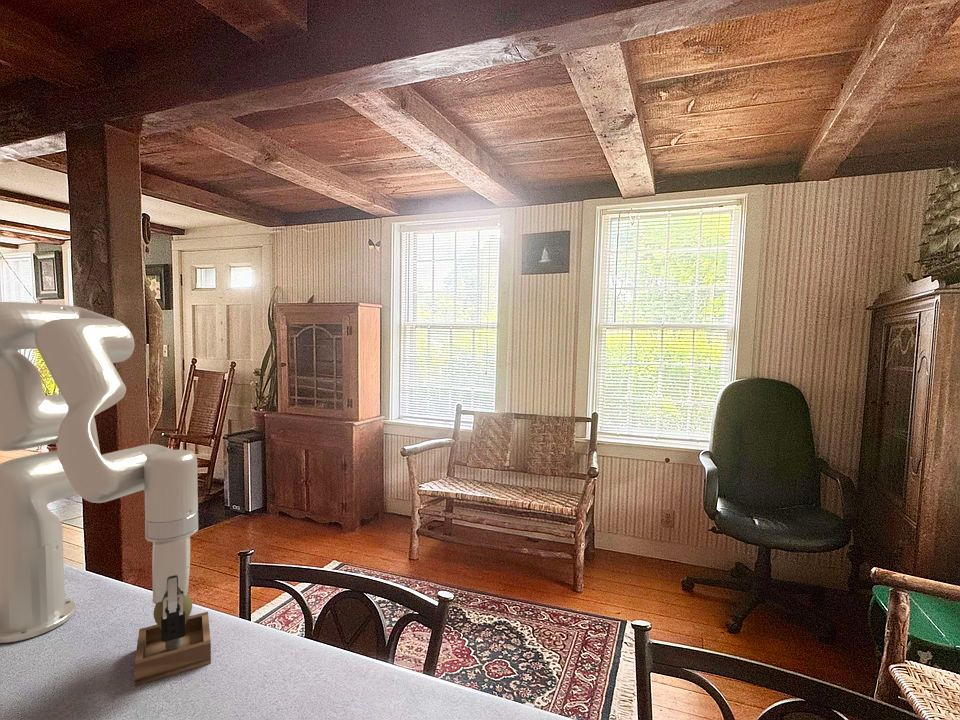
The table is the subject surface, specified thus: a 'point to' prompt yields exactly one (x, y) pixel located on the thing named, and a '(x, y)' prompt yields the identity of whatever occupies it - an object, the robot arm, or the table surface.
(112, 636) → the table surface
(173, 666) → the open wooden box
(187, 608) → the light bulb
